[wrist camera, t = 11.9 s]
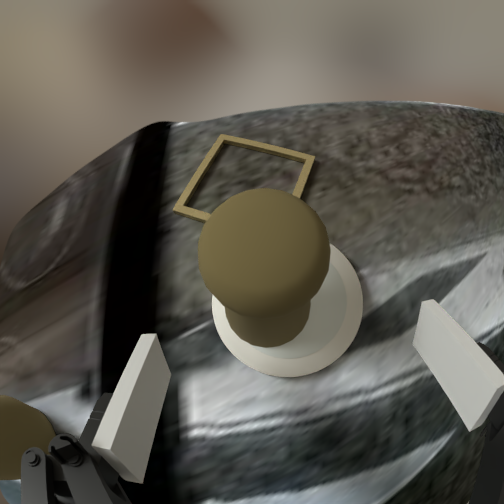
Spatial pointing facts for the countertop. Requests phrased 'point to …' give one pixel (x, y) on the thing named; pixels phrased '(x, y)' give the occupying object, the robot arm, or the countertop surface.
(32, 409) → the squeeze bottle
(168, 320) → the countertop surface
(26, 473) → the robot arm
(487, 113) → the countertop surface
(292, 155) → the square frame
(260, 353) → the saucer
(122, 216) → the countertop surface
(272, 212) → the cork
